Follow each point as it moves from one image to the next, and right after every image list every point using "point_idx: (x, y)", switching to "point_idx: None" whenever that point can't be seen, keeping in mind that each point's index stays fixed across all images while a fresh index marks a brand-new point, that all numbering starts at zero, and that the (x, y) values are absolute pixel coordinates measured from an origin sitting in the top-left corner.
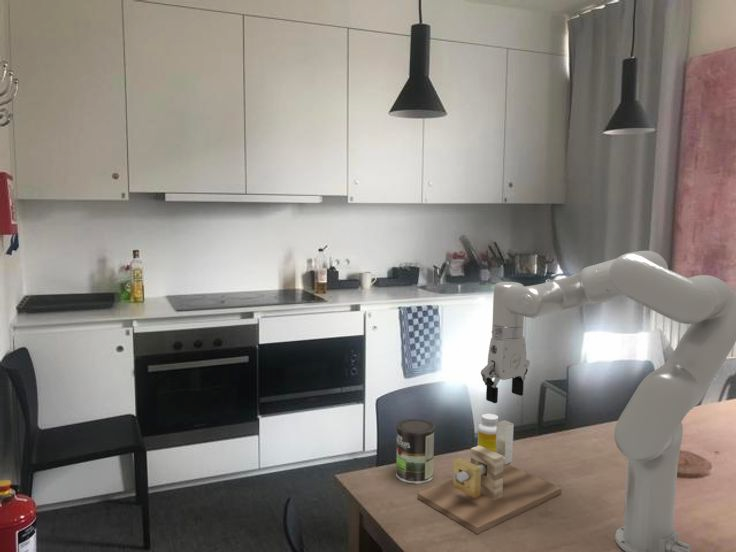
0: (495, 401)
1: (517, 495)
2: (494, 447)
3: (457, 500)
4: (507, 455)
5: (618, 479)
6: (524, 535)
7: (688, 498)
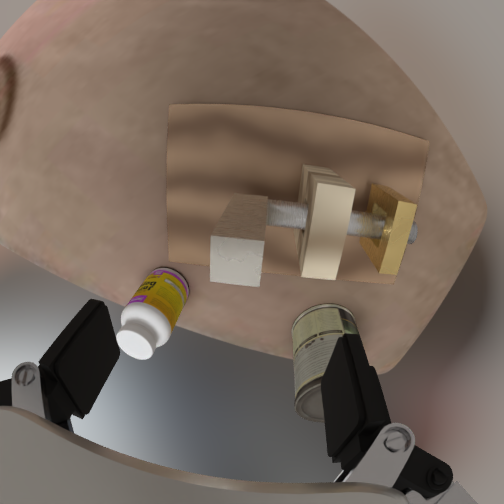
0: (360, 342)
1: (272, 144)
2: (163, 287)
3: None
4: (255, 201)
5: (59, 92)
6: (372, 73)
7: (56, 12)
